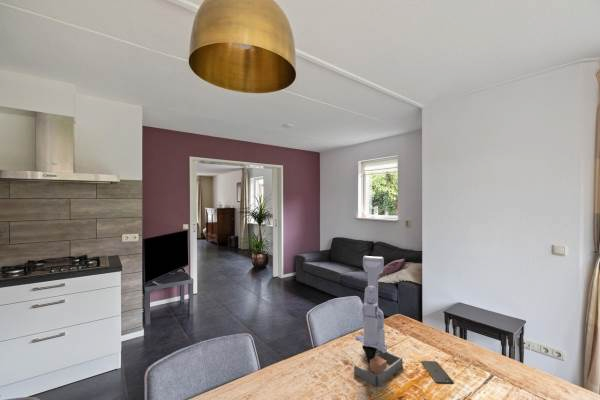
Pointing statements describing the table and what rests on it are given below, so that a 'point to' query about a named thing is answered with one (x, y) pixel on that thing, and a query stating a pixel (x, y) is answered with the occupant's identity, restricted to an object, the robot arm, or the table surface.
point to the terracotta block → (378, 364)
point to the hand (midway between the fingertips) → (370, 362)
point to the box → (384, 374)
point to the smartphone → (437, 372)
